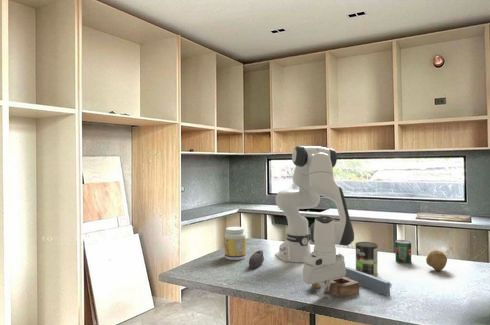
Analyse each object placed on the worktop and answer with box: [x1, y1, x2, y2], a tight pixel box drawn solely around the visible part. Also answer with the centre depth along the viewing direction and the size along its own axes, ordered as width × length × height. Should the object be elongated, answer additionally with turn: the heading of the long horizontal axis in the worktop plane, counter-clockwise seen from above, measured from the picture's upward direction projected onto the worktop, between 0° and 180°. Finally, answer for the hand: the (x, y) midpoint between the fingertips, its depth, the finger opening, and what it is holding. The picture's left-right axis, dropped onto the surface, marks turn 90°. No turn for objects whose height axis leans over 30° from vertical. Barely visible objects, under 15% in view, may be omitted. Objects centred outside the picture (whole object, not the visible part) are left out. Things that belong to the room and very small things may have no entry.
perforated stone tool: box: [248, 249, 265, 269], centre depth 184 cm, size 15×5×7 cm, turn 153°
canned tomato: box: [394, 239, 413, 265], centre depth 189 cm, size 8×8×11 cm
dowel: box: [311, 282, 321, 289], centre depth 154 cm, size 4×4×8 cm
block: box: [324, 277, 360, 299], centre depth 147 cm, size 10×10×4 cm
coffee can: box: [354, 241, 379, 277], centre depth 171 cm, size 10×10×14 cm
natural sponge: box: [425, 249, 448, 272], centre depth 173 cm, size 9×9×10 cm
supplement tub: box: [223, 226, 247, 261], centre depth 201 cm, size 12×12×17 cm
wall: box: [344, 266, 391, 296], centre depth 154 cm, size 24×2×5 cm, turn 29°
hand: (325, 290), depth 143 cm, fingers closed
